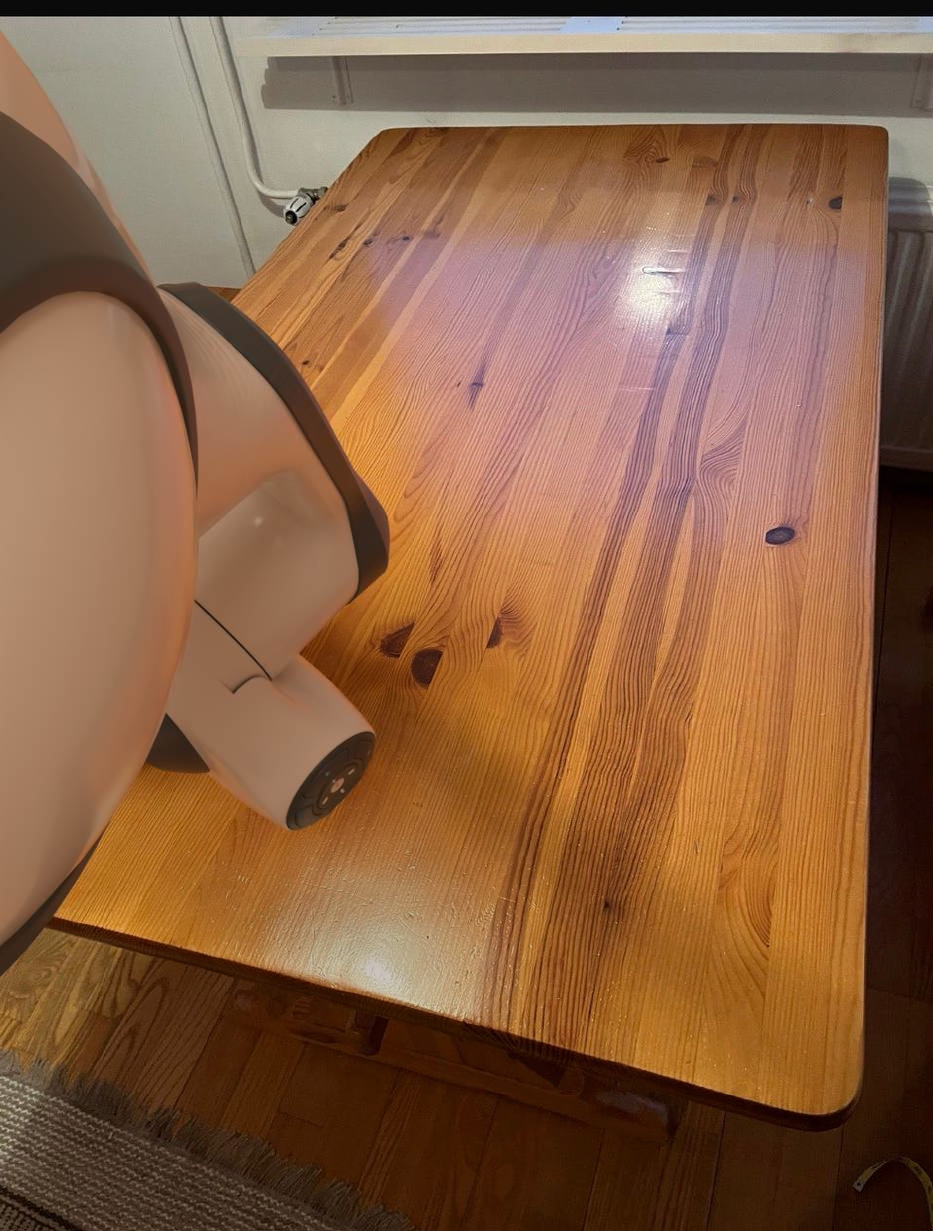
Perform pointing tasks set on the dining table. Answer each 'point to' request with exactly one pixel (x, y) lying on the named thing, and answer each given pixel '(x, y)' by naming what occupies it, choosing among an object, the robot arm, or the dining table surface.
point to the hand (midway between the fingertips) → (69, 550)
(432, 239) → the dining table surface
